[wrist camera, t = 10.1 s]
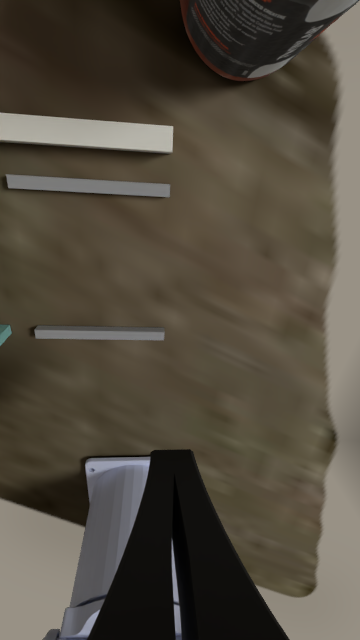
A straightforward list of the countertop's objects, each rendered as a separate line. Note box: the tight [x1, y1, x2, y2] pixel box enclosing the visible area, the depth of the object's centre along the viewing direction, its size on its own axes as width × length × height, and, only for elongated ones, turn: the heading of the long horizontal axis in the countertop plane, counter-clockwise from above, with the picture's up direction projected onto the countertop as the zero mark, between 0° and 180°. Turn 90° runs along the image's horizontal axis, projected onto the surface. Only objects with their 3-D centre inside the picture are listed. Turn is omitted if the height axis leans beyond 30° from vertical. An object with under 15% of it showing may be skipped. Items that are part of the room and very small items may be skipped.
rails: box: [6, 174, 170, 340], centre depth 17 cm, size 9×8×1 cm
